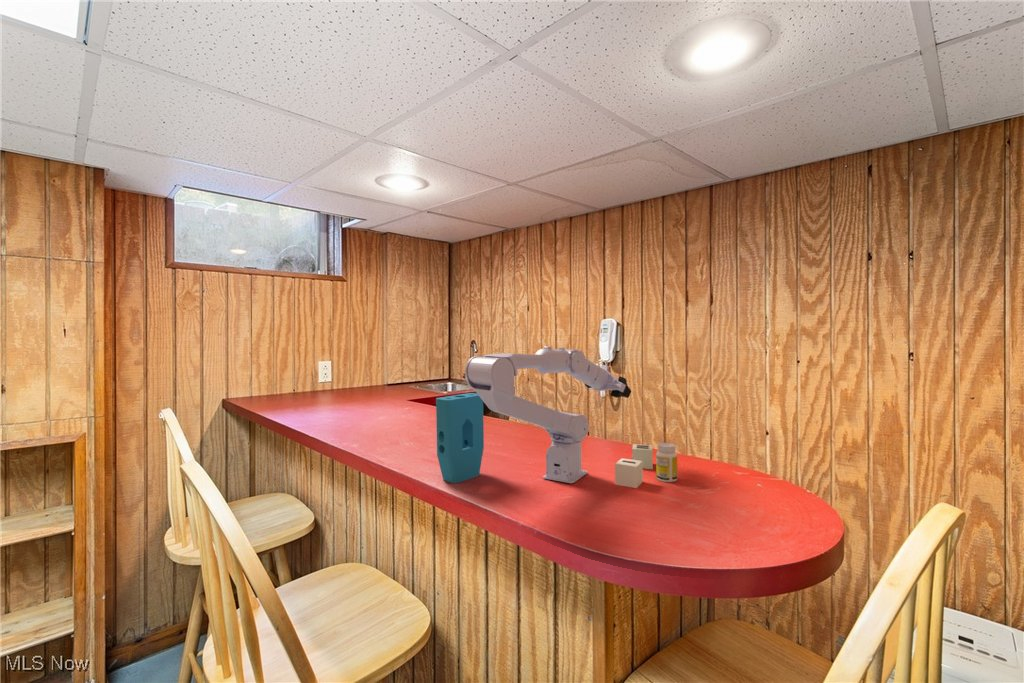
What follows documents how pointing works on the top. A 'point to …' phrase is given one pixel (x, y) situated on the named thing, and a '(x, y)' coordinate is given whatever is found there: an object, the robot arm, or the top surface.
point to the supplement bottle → (666, 462)
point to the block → (460, 436)
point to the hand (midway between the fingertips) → (618, 390)
